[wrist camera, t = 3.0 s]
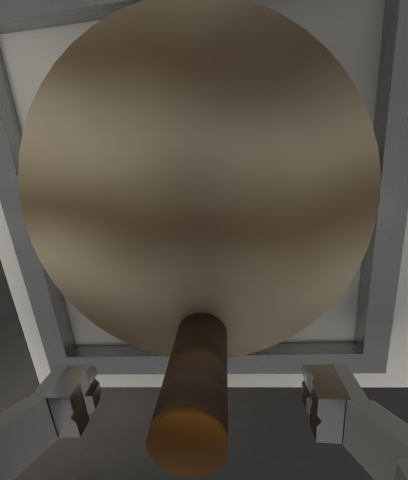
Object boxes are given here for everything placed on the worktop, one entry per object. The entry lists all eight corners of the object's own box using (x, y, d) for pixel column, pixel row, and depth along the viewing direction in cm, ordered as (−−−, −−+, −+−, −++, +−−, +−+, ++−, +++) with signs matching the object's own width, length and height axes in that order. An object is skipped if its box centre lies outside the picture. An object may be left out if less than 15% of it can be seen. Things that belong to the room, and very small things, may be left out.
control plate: (-38, -8, 13) (-126, -64, 10) (439, -86, 11) (531, -192, 8) (63, 359, 19) (29, 400, 16) (382, 355, 17) (420, 402, 14)
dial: (2, 41, 11) (-305, -122, 5) (378, -12, 10) (687, -358, 3) (78, 342, 15) (-30, 475, 9) (349, 338, 14) (456, 494, 7)
